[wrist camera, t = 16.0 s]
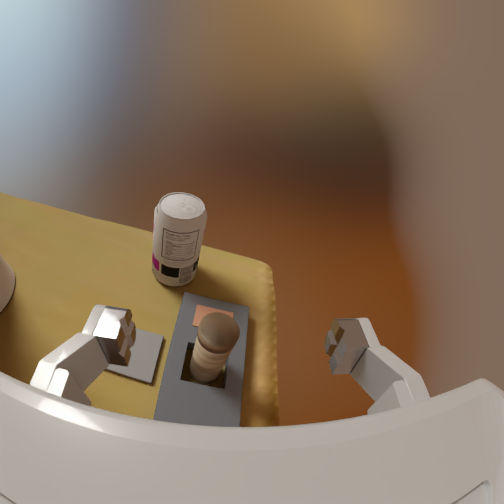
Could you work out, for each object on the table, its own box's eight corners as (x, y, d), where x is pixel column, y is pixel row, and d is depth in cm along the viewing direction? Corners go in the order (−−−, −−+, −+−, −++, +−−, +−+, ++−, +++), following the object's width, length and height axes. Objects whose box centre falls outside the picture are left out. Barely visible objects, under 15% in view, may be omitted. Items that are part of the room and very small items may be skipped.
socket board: (233, 452, 29) (237, 451, 27) (151, 437, 27) (150, 435, 25) (245, 314, 46) (249, 306, 45) (183, 300, 45) (184, 291, 43)
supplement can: (143, 271, 47) (143, 203, 37) (171, 249, 53) (180, 185, 43) (176, 296, 45) (184, 229, 35) (203, 271, 51) (218, 206, 41)
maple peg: (199, 390, 34) (214, 354, 26) (182, 365, 36) (191, 321, 28) (224, 376, 37) (248, 336, 29) (207, 353, 39) (224, 306, 31)
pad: (151, 383, 33) (151, 382, 32) (100, 367, 32) (99, 365, 31) (163, 337, 39) (163, 335, 38) (116, 323, 38) (115, 321, 37)
